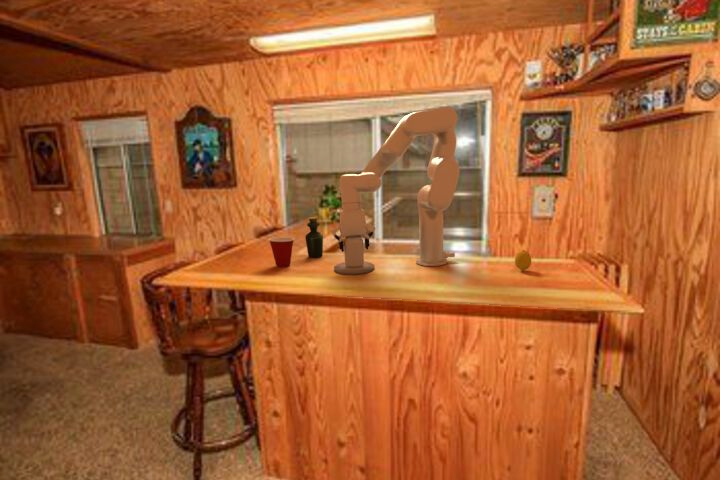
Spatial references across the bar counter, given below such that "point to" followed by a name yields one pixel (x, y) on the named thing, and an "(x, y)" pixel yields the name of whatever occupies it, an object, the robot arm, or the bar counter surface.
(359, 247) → the can
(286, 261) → the plastic cup
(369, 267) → the dish
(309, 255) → the potion bottle
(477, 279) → the bar counter surface
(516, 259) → the lemon
